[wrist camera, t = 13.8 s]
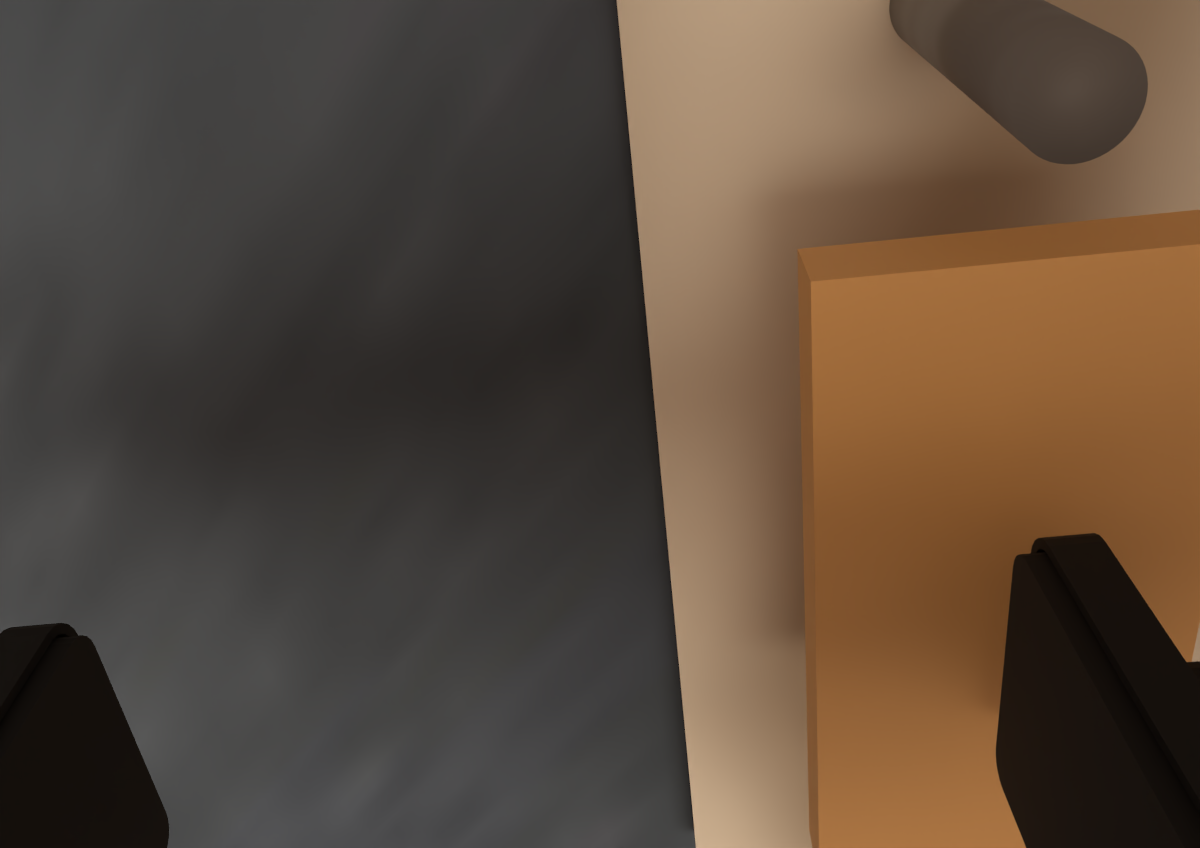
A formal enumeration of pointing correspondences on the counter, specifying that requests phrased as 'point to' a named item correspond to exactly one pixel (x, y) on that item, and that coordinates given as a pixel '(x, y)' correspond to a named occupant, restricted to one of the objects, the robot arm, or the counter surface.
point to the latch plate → (978, 489)
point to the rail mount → (834, 217)
